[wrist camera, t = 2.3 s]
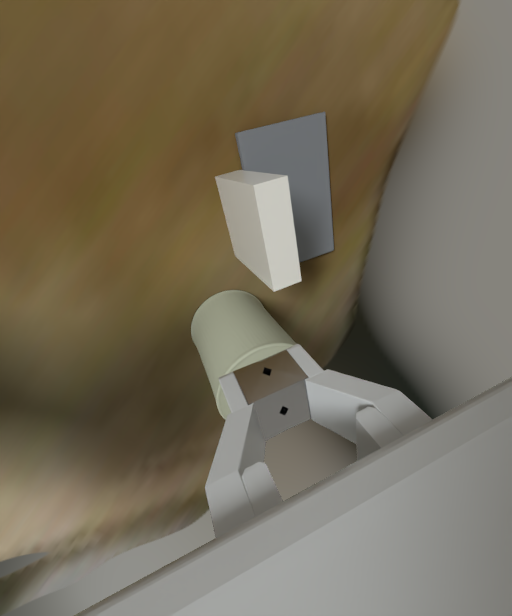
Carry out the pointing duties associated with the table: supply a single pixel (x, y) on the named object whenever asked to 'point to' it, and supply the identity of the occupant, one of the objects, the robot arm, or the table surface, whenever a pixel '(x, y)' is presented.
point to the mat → (296, 174)
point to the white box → (261, 225)
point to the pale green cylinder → (234, 337)
